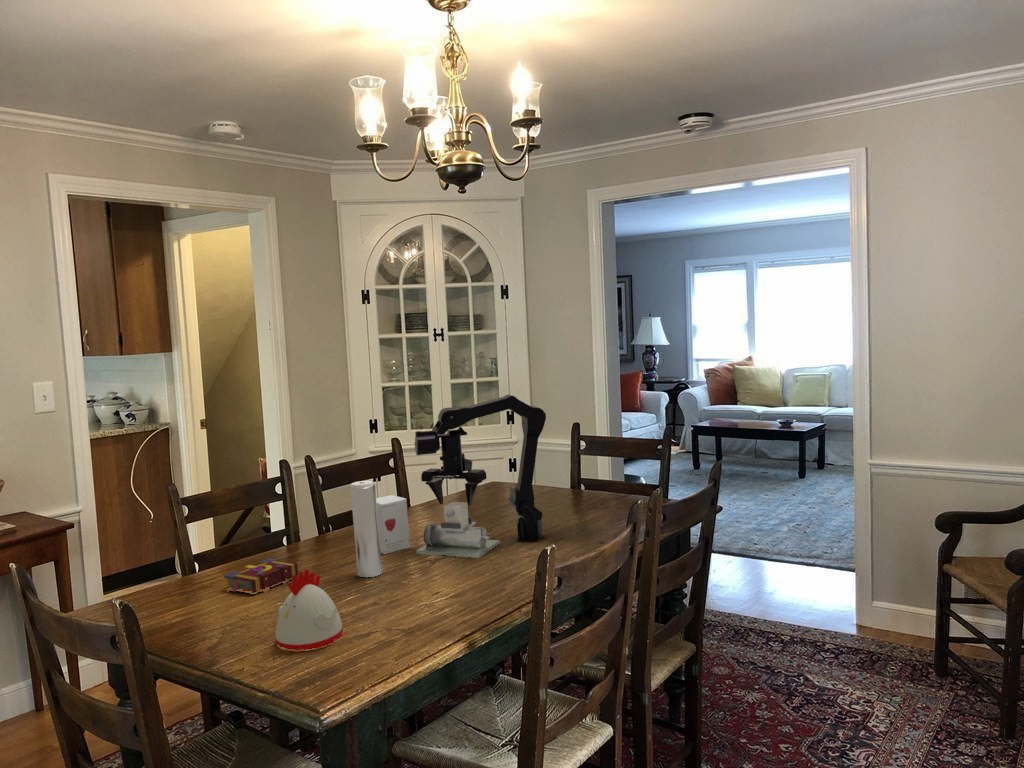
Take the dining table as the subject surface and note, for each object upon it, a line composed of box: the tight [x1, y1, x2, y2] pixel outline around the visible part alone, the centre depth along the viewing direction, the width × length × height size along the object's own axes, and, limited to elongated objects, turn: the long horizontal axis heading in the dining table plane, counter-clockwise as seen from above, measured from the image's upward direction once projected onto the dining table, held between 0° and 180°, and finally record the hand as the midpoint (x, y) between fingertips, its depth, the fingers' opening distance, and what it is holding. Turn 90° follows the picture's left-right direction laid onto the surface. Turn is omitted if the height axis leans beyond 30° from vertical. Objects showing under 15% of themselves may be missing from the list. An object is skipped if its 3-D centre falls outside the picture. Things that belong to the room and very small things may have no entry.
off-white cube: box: [443, 501, 469, 527], centre depth 225 cm, size 5×7×6 cm
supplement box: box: [376, 494, 411, 555], centre depth 231 cm, size 9×9×15 cm
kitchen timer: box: [275, 568, 344, 650], centre depth 167 cm, size 14×14×15 cm
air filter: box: [350, 480, 383, 579], centre depth 208 cm, size 6×6×25 cm
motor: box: [415, 516, 501, 559], centre depth 226 cm, size 20×14×8 cm
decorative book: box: [223, 557, 299, 593], centre depth 206 cm, size 11×16×5 cm
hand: (455, 504), depth 226 cm, fingers open, 9 cm apart
